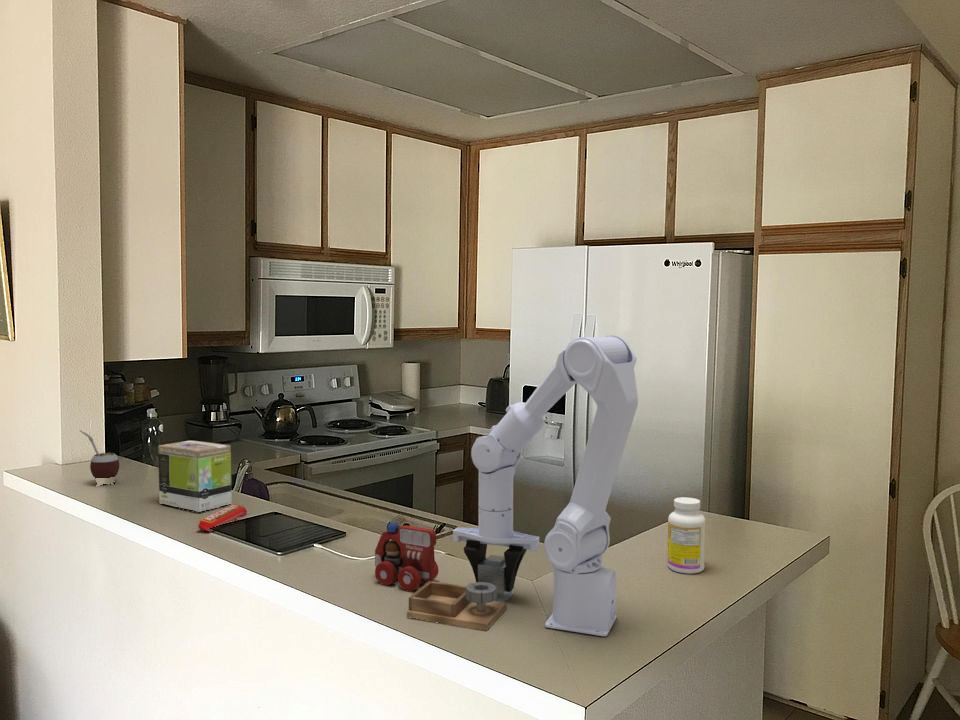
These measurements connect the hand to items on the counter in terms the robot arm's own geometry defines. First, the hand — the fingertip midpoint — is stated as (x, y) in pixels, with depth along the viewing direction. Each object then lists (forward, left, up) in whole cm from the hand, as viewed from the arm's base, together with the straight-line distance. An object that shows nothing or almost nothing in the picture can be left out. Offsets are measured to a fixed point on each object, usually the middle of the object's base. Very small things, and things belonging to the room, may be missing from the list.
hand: (495, 587), depth 129 cm
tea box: (+87, -29, -2) cm, 92 cm away
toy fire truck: (+17, -1, -2) cm, 17 cm away
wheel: (-1, +9, +2) cm, 9 cm away
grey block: (0, 0, -2) cm, 2 cm away
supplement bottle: (-28, -26, -2) cm, 38 cm away
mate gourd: (+124, -37, -2) cm, 130 cm away
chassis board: (+3, +8, -2) cm, 9 cm away
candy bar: (+71, -19, -2) cm, 73 cm away
